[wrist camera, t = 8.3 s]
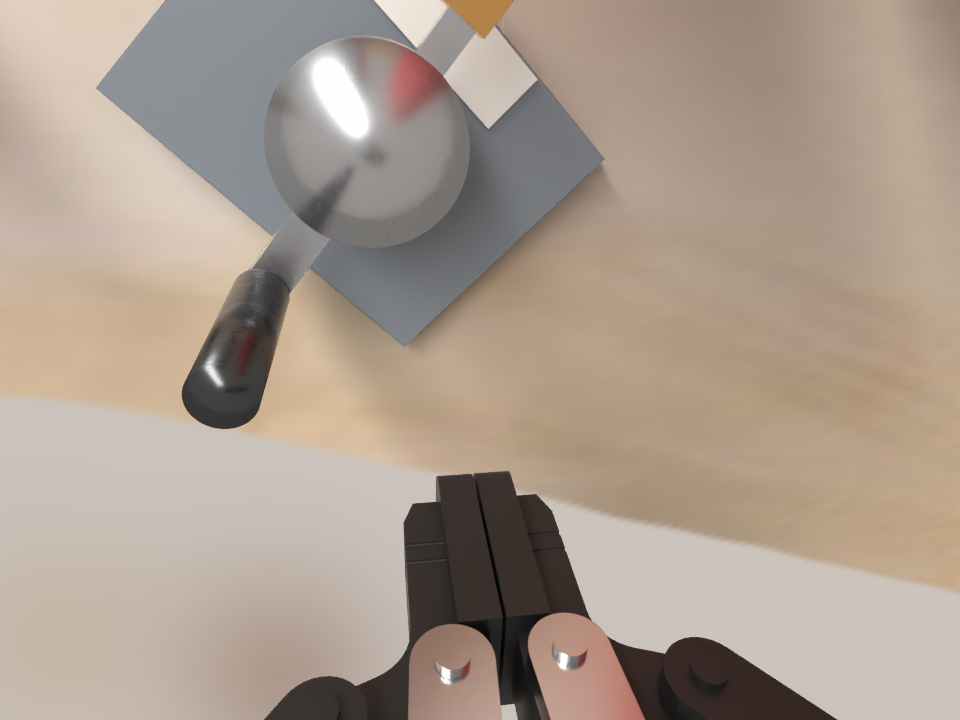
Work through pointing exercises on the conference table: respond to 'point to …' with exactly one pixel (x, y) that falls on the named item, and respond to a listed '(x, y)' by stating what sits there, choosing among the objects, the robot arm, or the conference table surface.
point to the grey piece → (342, 184)
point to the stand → (241, 119)
